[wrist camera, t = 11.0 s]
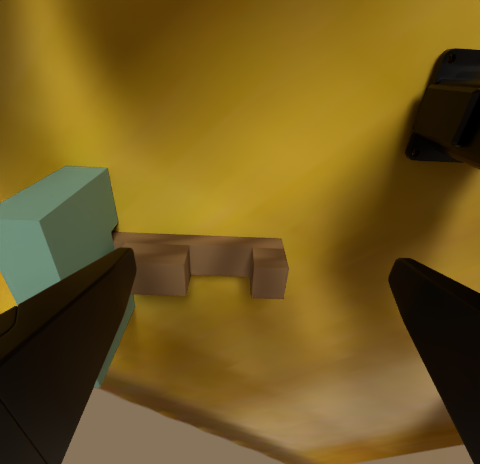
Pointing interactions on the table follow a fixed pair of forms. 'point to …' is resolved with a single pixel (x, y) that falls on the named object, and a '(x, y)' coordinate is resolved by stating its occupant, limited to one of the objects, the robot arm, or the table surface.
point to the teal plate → (59, 234)
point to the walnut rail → (204, 262)
